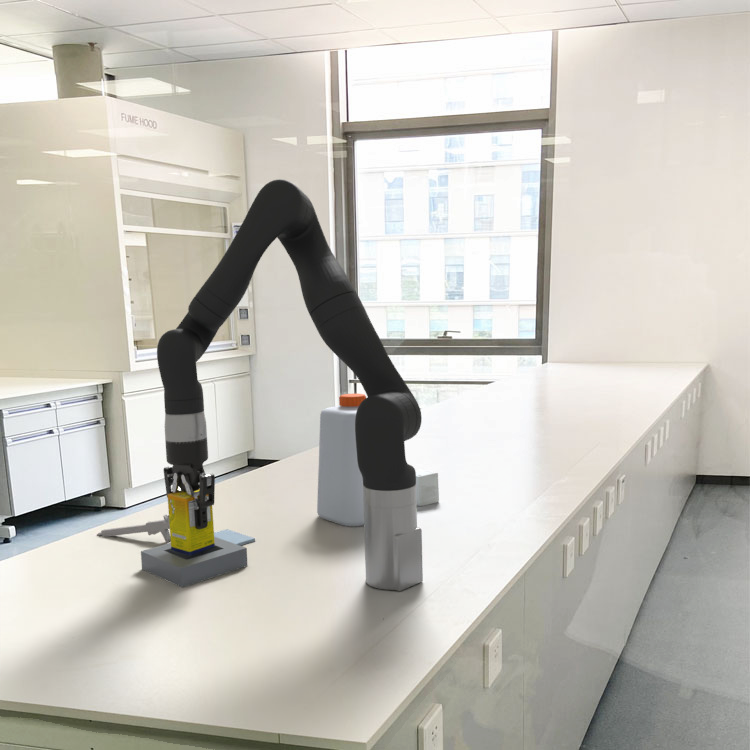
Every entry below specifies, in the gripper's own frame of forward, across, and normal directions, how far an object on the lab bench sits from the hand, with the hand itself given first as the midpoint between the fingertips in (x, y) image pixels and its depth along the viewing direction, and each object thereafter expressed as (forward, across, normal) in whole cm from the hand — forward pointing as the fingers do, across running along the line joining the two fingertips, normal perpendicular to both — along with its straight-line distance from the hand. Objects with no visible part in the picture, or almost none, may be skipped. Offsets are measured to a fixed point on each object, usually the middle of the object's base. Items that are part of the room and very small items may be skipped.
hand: (191, 524), depth 142 cm
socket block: (+8, 0, 0) cm, 8 cm away
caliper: (+9, +25, -2) cm, 26 cm away
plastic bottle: (+9, 0, -43) cm, 44 cm away
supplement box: (+5, 0, 0) cm, 5 cm away
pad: (+8, +9, -12) cm, 17 cm away
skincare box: (+9, -4, -62) cm, 62 cm away
